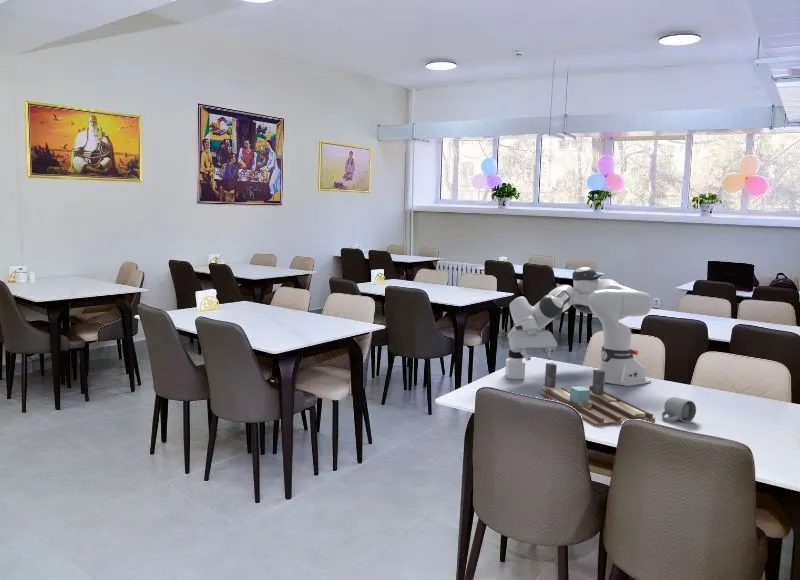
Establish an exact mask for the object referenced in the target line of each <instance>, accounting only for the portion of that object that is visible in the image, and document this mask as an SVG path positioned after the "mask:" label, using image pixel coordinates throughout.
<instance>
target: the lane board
mask: <svg viewBox="0 0 800 580" xmlns="http://www.w3.org/2000/svg"><path fill="white" fill-rule="evenodd" d="M560 389H562V390H564V391H566V392H568V393H570V390H569V389H567V388H565V387H560ZM588 389H589V390H590V400H589V401H592V407H591V408H584V407H582V406H580V405H578V404H576V403H574V402H573V401H571V400H569V399H567V398H565V397H563V396H561V395H559V394H558V393H556V392H554V391H552V390H550V389H546V390H545V392H540V396H541V397H542V398H544V399H546V400H548V399H550V400H554V401H559V402H562V403H565V404H568V405H570V406H572V407H573V408H575V409H576V410H577V411H578V412H579V413H580V414H581V416H582V418H583V419H582V420H583V421H585V422H587V423H589V424H590V425H591V426H594V427H604V426H615V425H616V426H617V425H622V424H621V423H622V422H623V421H625V420H627V419H641V420H646V421H650V422H656V418H655V417H654V414H653V413H651V412H650V411H647V410H645V409H643V408H641V407H639V406H636V405H634V404H632V403H631V402H628V401H627V400H624V399H621V398H619V397H618V396H615V395H614V394H612V393H609V392H607V391H605V390H604V394H606V395H608V396H610V397H612V398H614V399H616V400H617V402H619V401H621V402H623V403H625V404H627V405H629V406H631V407H633V408H635V409H638V410H640V411H642V412H644V413H646V416H645V417H636V415H634V414H632V413H630V412H628V411H626V410H624V409H622V408H620V407H618V406H616V405H614V404H612V403H610V402H608V401H606V400H604V399H602V398H600V397H598V396H596V395H593V394H591V393H592V385H589V388H588ZM550 400H549V401H550Z"/></svg>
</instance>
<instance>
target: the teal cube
mask: <svg viewBox="0 0 800 580" xmlns="http://www.w3.org/2000/svg"><path fill="white" fill-rule="evenodd" d="M569 388H570V390H569V391H570V400H571V401H573V402H574V403H576V404H578V401H589V400H590V390H589V389H590V388H587V387H585V386H582V385H579V386H570V387H569Z"/></svg>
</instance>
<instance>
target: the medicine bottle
mask: <svg viewBox="0 0 800 580" xmlns="http://www.w3.org/2000/svg"><path fill="white" fill-rule="evenodd" d="M525 370H526V362H525V360H524V356H523V355H522V354H521V352H513V351H512V350H511V348H510V349H509V350H508V358H506V359H505V373H504V374H505V376H506V378H507V379H508V378H509V380H510V379H511V380H525V377H526V376H525V374H526V373H525V372H526V371H525Z"/></svg>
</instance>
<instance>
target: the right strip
mask: <svg viewBox="0 0 800 580" xmlns="http://www.w3.org/2000/svg"><path fill="white" fill-rule="evenodd" d="M557 365H558V364H556V363H553V362H548V363H545V373H544V374H545V376H544V385H542V387H541V388H542V390H544V391H546V389H550V390H552V391H554V392H556V393H558V394H559V395H561V396H563V397H565V398H567V399H569V400H570V393H568V392H566V391H564V390H562V389H561V387H558V386H557V385H556V384H557V383H556V381H557ZM578 405H580V406H582V407H584V408H591V407H592V401H578Z"/></svg>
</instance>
